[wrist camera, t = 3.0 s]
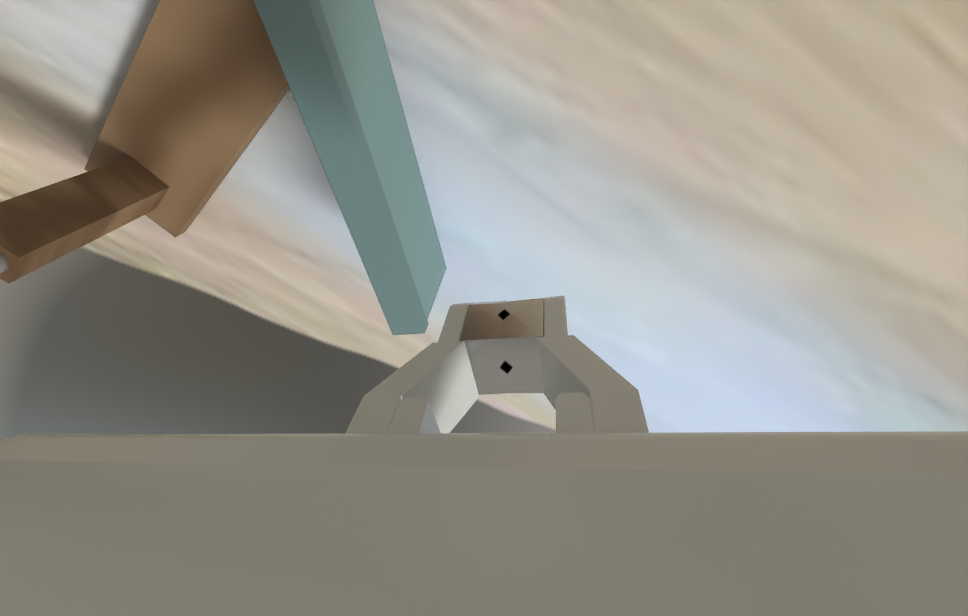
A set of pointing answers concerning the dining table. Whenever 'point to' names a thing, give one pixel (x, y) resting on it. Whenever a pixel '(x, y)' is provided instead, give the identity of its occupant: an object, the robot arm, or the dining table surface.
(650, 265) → the dining table surface
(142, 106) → the gate frame
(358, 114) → the gate
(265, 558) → the robot arm
